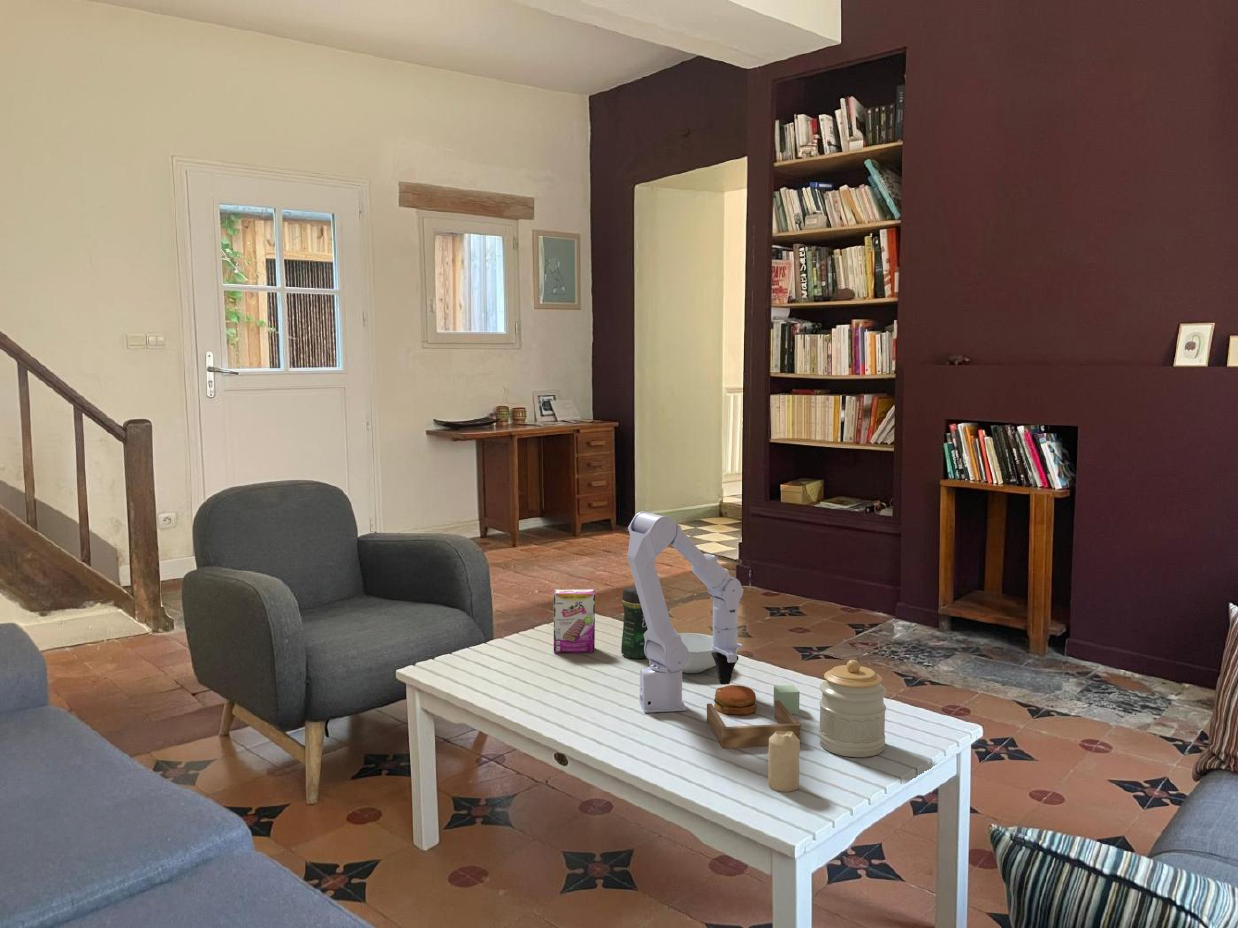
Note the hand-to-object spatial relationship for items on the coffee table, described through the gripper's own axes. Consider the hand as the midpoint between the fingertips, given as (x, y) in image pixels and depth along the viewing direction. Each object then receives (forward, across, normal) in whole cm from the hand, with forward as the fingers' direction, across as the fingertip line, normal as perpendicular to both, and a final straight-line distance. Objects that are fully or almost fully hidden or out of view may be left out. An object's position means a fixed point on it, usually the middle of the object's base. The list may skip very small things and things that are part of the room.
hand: (724, 683), depth 220 cm
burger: (+3, -10, 0) cm, 10 cm away
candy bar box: (+3, +39, +32) cm, 50 cm away
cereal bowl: (+3, +20, +4) cm, 20 cm away
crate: (+2, -24, 0) cm, 24 cm away
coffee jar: (+3, +33, +15) cm, 36 cm away
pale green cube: (+2, -12, -11) cm, 17 cm away
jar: (+3, -33, -18) cm, 38 cm away
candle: (+3, -49, +1) cm, 49 cm away
